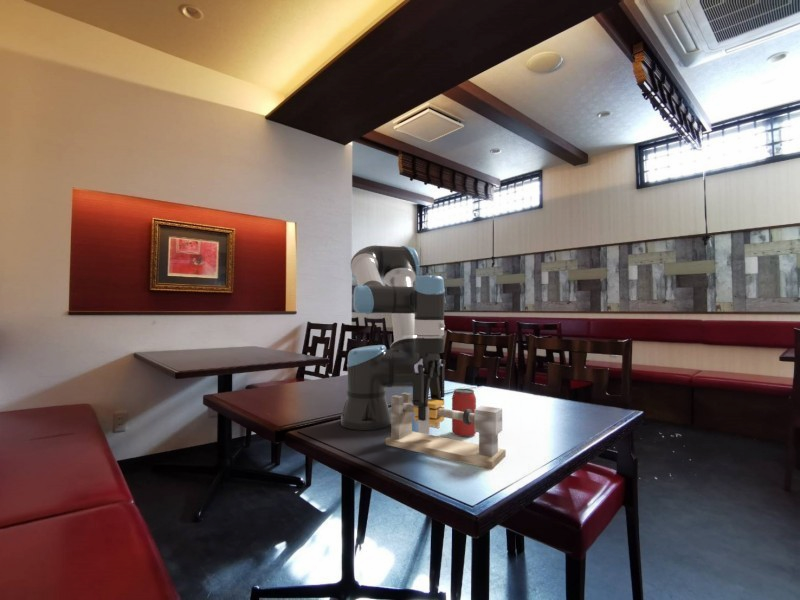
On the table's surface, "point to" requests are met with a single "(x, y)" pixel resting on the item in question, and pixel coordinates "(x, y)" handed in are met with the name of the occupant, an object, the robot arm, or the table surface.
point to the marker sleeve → (432, 411)
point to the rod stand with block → (476, 454)
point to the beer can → (459, 403)
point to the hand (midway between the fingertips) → (429, 430)
